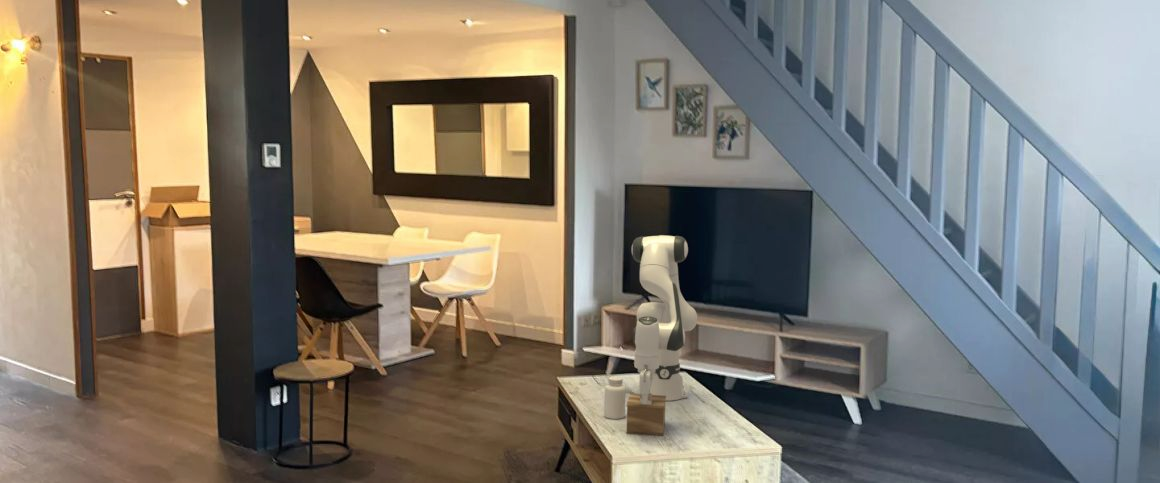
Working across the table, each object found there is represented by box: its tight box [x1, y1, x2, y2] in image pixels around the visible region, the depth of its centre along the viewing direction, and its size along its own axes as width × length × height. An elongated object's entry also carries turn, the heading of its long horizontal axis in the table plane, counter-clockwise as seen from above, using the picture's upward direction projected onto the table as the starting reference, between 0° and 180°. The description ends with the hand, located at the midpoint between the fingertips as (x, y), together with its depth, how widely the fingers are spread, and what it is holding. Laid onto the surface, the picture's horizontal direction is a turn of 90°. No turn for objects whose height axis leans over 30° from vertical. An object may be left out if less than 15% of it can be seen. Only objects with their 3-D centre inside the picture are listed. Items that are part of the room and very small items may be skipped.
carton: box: [626, 405, 666, 437], centre depth 334 cm, size 14×13×10 cm
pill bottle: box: [603, 376, 626, 420], centre depth 348 cm, size 8×8×15 cm
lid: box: [626, 393, 666, 408], centre depth 333 cm, size 14×13×4 cm
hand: (645, 400), depth 328 cm, fingers open, 8 cm apart
